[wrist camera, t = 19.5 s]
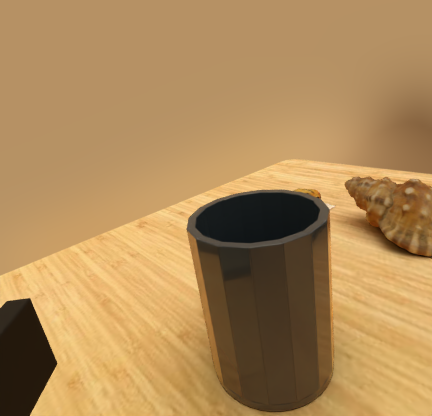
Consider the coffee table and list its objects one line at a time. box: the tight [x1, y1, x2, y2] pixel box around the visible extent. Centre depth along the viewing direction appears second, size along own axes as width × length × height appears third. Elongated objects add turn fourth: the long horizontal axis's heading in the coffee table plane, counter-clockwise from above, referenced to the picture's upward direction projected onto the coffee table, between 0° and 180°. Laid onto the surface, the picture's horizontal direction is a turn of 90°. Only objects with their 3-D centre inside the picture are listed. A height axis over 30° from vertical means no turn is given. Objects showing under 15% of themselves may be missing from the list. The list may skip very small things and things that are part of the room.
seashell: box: [345, 177, 432, 256], centre depth 36 cm, size 9×8×10 cm
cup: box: [187, 190, 334, 412], centre depth 21 cm, size 8×8×11 cm
